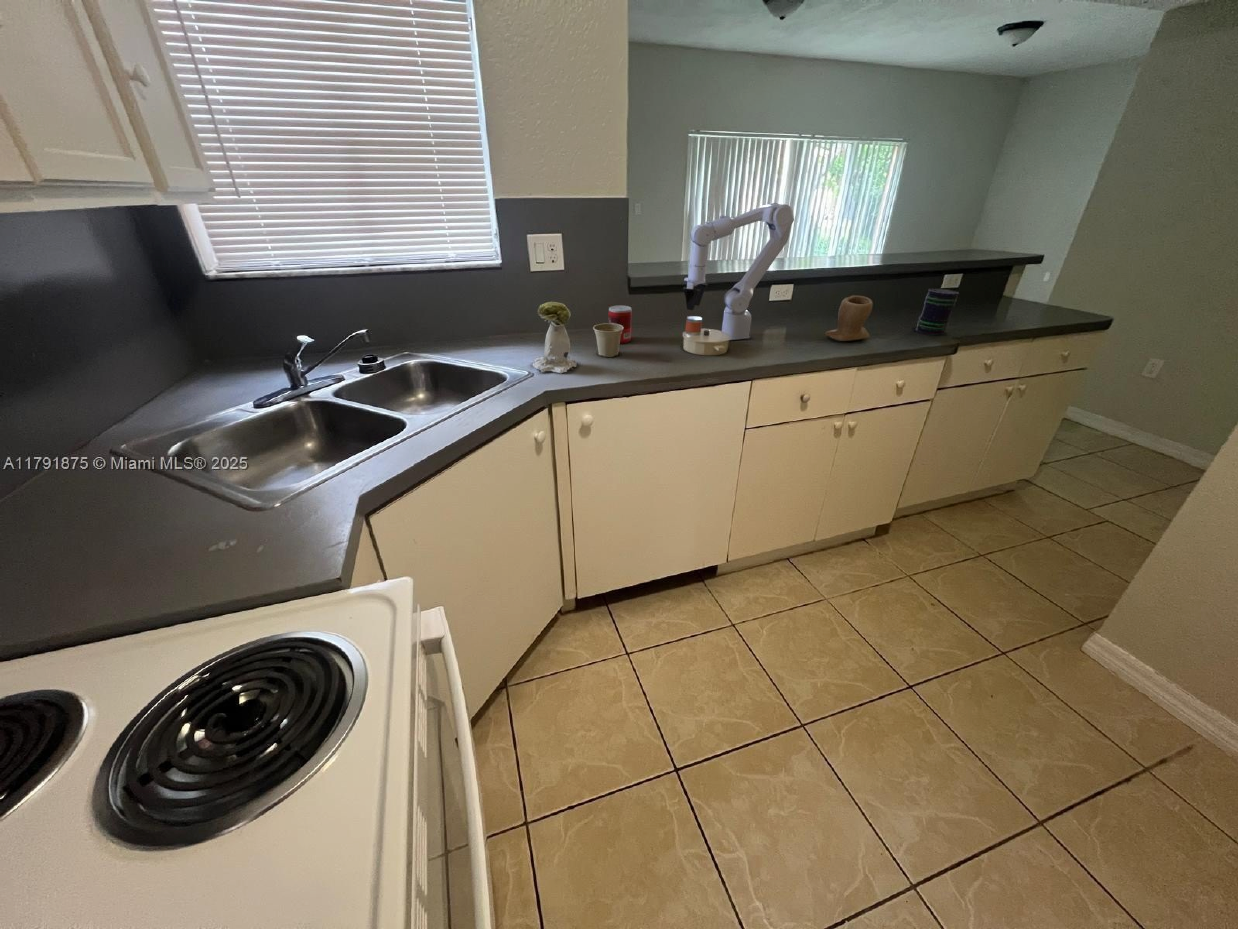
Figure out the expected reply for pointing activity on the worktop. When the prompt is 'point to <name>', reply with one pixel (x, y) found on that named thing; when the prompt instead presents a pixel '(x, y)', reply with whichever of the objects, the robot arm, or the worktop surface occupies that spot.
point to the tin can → (693, 325)
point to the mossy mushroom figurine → (555, 339)
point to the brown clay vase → (852, 319)
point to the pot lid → (708, 336)
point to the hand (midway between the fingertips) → (693, 307)
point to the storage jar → (936, 311)
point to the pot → (705, 347)
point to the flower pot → (608, 338)
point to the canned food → (621, 320)
